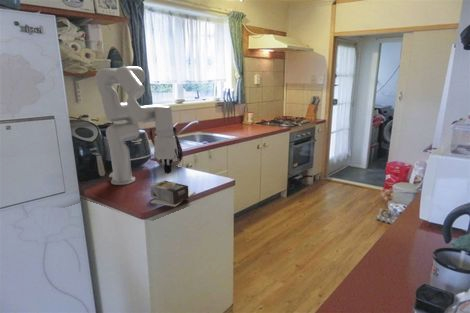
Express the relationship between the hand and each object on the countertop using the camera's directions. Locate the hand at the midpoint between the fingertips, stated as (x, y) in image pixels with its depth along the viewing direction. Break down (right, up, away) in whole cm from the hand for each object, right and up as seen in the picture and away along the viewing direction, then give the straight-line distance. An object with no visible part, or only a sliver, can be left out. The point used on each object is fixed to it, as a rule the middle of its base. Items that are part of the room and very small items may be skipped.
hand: (168, 172), depth 150 cm
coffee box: (-6, -8, +4) cm, 11 cm away
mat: (+2, -12, +2) cm, 12 cm away
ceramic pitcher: (-12, +1, +56) cm, 57 cm away
